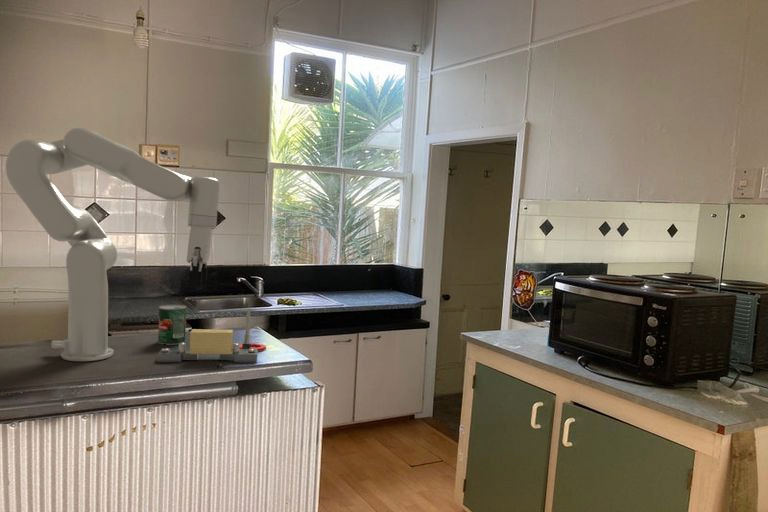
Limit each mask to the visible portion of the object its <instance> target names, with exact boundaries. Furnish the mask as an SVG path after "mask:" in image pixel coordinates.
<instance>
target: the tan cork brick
mask: <svg viewBox="0 0 768 512" xmlns="http://www.w3.org/2000/svg"><path fill="white" fill-rule="evenodd" d="M189 333H190V334H189V351H190V354H199V355H220V354H231V353H232V351H233V344H234V342H233V340H234V329H222V328H221V329H213V328H212V329H210V328H208V329H202V328H198V329H197V328H192V329H191V331H190V332H189Z"/></svg>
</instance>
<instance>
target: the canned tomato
mask: <svg viewBox="0 0 768 512" xmlns="http://www.w3.org/2000/svg"><path fill="white" fill-rule="evenodd" d="M186 318H187V306H186V305H183V304H163V305H159V306H158V331H157V332H158V337H157V339H158V341H157V342H158V344H159V345H163V344H166V345H165V346H176V345H177V344H178V345H179V343H184V342H185V343H186V332H187V331H186V330H187V329H186V327H187V319H186Z"/></svg>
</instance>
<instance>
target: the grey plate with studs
mask: <svg viewBox="0 0 768 512" xmlns="http://www.w3.org/2000/svg"><path fill="white" fill-rule="evenodd" d="M240 344H241V343H239V342H235V343H234V342H233V344H232V353H231V354H219V361H220V360H230V361H229V362H231V361H232V362H234V363H257V362H258V352H257V350H258V349H239V348H240ZM186 346H187V344H186V342H185V343H179V344H178V348H169V347H168V348H167V347H162V348H161V349H160V350H159V351H158V353H157V363H182V360H197V359H198V360H199V355H200V354H190V350H187V349H186ZM198 360H197V361H198Z"/></svg>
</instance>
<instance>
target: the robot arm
mask: <svg viewBox="0 0 768 512" xmlns="http://www.w3.org/2000/svg"><path fill="white" fill-rule="evenodd" d="M85 166H90V167H93V168H95V169H97V170H99V171H101V172H104V173H106V174H108V175H110V176H112V177H113V178H116V179H118V180H121V181H122V182H125V183H129V184H131V185H132V186H135V187H137V188H138V189H142V190H143V191H146V192H148V193H150V194H152V195H153V196H154V195H155V196H156V197H159V198H161V199H164V200H167V201H170V202H171V201H172V202H173V201H174V202H183V201H184V202H186V201H189V207H188V217H187V227H190V231H189V237H188V243H187V244H188V245H187V253H186V262H187V263H188V264H189V263H191V264H190V267H189V269H190V270H189V273H188V274H189V277H188V286H190V287H201V286H202V282H204V283H205V282H206V281H207V277H208V276H207V275H208V268H207V267H208V261H209V259H210V254H211V253H210V252H211V244H212V231H213V229H217V222H218V220H217V219H218V210H219V209H218V208H219V194H220V181H219V180H218V179H217V178H215V177H210V176H209V177H207V176H197V175H196V176H190V175H189V176H188V175H186V174H181V173H178V172H175V171H173V170H170V169H169V168H167V167H164V166H161V165H159V164H158V163H156V162H153V161H152V160H148V159H147V158H145V157H143V156H142V155H140V154H139V153H138V152H137V151H135V150H134V149H132V148H129V147H127V146H125V145H123V144H120V143H118V142H115V141H114V140H112V139H110V138H107V137H105V136H103V135H100V134H99V133H97V132H95V131H93V130H90V129H88V128H85V127H74V128H71V129H70V130H68V131H67V132H66V133H65V135H64V137H63V139H59V140H56V141H51V142H45V141H43V140H38V139H33V138H31V139H23V140H20V141H18V142H16V144H14V145H13V146H12V147H11V149H10V150H9V152H8V154H7V156H6V161H5V172H6V176H7V179H8V182H9V184H10V186H11V187H12V188H13V190H14V192H15V193H16V194H17V195H18V197H19V198H20V199H21V200H22V202H23V203H24V204H25V205H26V207H27V208H28V209H29V211H30V213H31V214H32V215H33V217H34V218H35V219H36V220H37V222H39V224H40V225H41V227H42V228H43V229H44V230H45V232H46V233H47V235H48V236H49V237H50V238H51V239H53V240H55V241H58V242H67V243H68V244H69V245H70V246H71V247H70V248H69V250H68V252H67V254H66V258H65V265H66V266H65V267H66V275H67V282H68V283H67V284H68V293H67V294H68V321H67V323H68V326H67V327H68V328H67V329H68V331H67V336H68V337H67V339H65V340H52V341H51V343H50V346H51V348H53V350H61V349H62V350H63V351H62V352H61V354H60V355H61V359H63V360H65V361H69V362H70V361H71V362H94V361H100V360H101V361H102V360H104V359H105V360H106V359H108V358H111V357H112V356H113V355H114V349H113V348H111V347H108V337H109V336H108V332H109V330H108V329H109V327H108V326H109V283H108V275H107V270H109V269H110V268H112V267H113V266H114V264H115V263H116V261H117V260H118V251H117V248H116V246H115V244H114V243H113V241H112V240H111V239H110V237H109V236H108V235H107V233H106V232H105V231H104V230H103V228H102V227H101V225H100V224H99V223H98V222H97V221H96V219H95V218H94V217H93V215H92V214H91V213H89V211H88V210H86V209H85V208H83V207H80V206H77V205H71V204H70V203H69V201H68V200H67V199H66V198H65V197H64V196H63V194H62V193H61V192H60V190H59V188H57V186H56V185H55V184H54V183H53V182H52V181H51V180H50V178H48V177H47V175H57V174H59V173H64V172H67V171H71V170H74V169H77V168H82V167H85Z"/></svg>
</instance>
